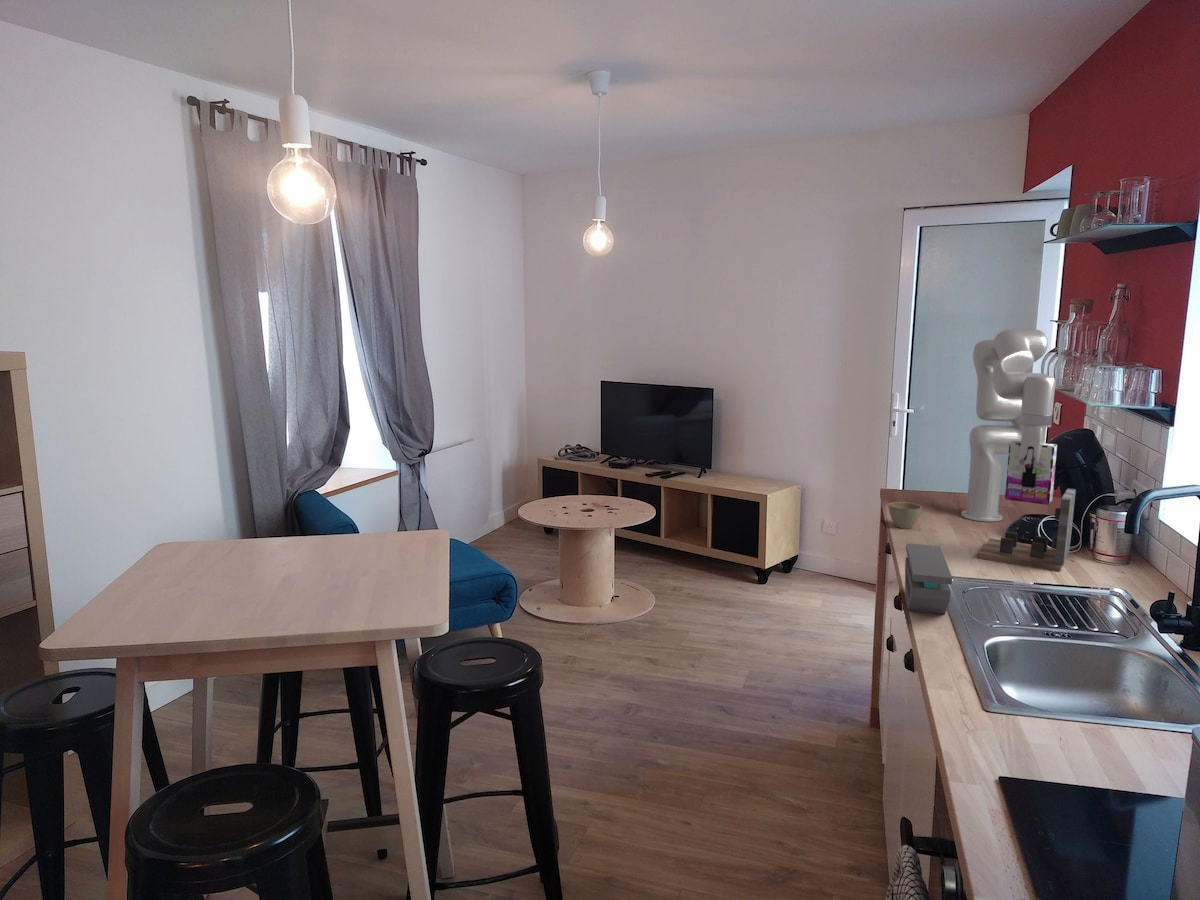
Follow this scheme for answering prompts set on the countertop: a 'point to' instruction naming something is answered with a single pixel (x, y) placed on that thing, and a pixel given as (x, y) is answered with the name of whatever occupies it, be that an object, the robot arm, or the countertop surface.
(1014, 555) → the wooden bookend
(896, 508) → the flower pot
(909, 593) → the grey lidded box
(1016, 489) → the candy bar box
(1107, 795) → the countertop surface
